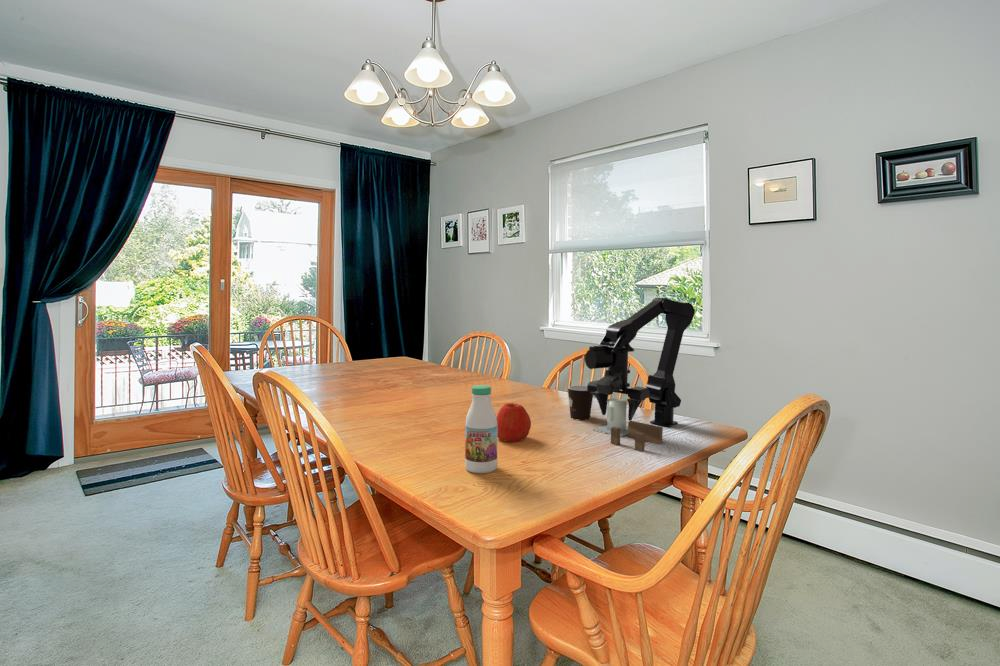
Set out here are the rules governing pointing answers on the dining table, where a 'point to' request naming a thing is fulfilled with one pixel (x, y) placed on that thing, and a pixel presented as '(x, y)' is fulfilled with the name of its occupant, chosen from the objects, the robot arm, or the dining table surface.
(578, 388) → the coffee mug
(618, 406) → the cylinder with square knob
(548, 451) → the dining table surface
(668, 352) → the robot arm
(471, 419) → the milk bottle
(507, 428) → the apple
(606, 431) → the slate mat
